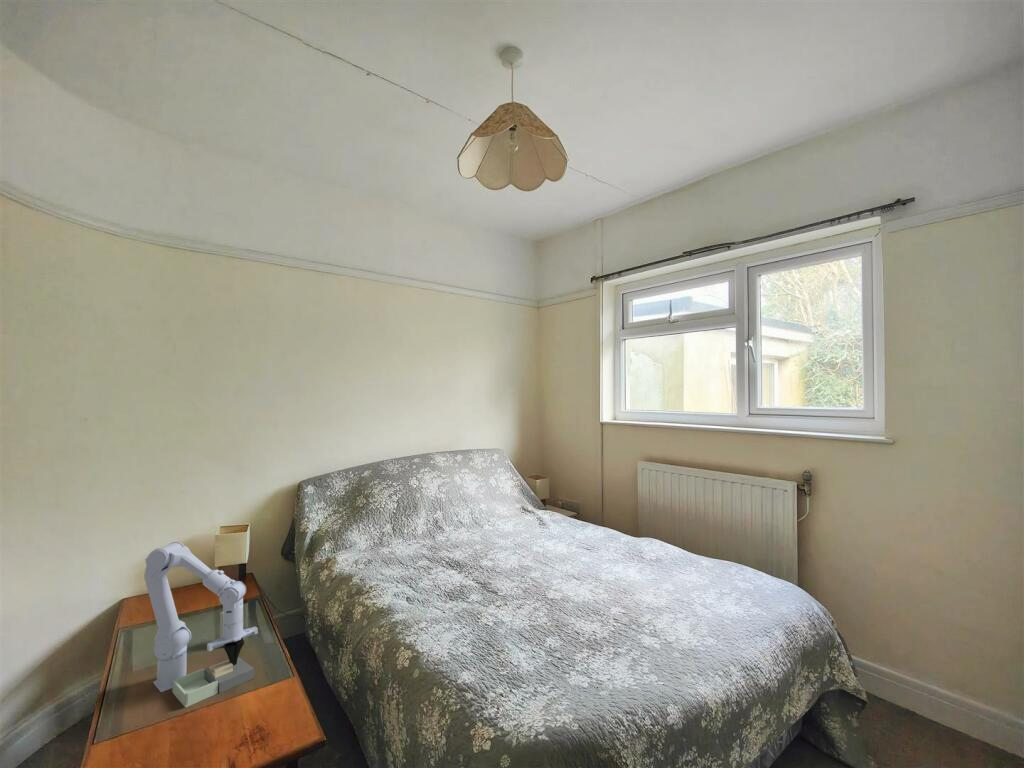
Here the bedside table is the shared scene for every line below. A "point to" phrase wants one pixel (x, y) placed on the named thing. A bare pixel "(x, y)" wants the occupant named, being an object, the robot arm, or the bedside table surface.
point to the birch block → (221, 668)
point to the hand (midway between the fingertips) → (233, 664)
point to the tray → (193, 688)
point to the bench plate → (231, 676)
